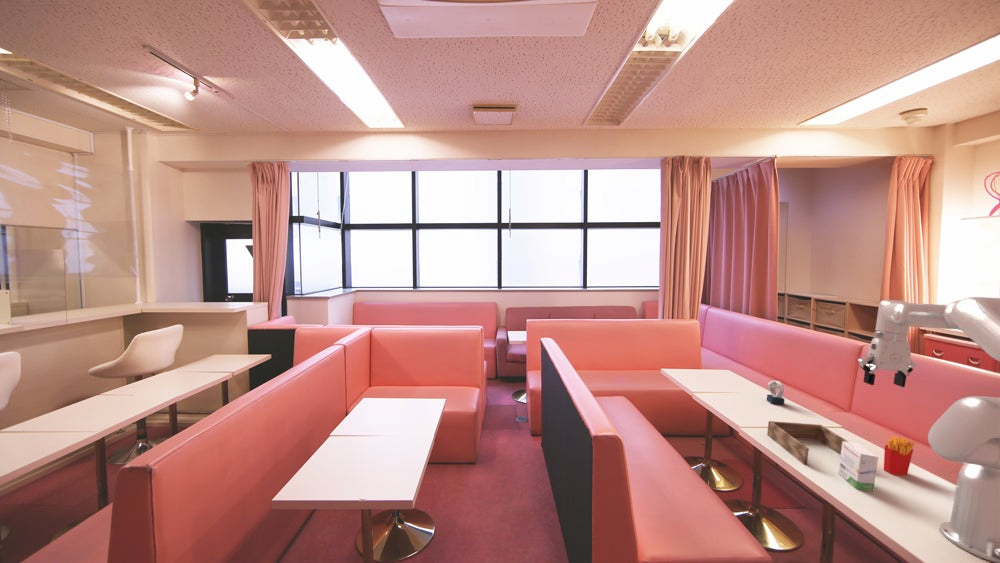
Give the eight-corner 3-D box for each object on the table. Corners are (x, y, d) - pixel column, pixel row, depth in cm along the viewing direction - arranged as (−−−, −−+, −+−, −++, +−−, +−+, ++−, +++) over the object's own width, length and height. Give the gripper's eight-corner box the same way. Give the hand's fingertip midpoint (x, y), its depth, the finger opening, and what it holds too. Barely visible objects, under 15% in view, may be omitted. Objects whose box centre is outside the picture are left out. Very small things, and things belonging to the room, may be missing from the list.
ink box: (874, 492, 113) (879, 457, 112) (856, 489, 114) (860, 454, 113) (854, 475, 122) (858, 442, 120) (837, 473, 123) (841, 440, 121)
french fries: (890, 475, 122) (895, 442, 121) (877, 468, 126) (882, 435, 125) (914, 475, 122) (919, 442, 121) (901, 468, 126) (906, 436, 125)
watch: (776, 399, 183) (778, 379, 182) (786, 406, 175) (788, 385, 174) (764, 398, 184) (766, 378, 183) (773, 405, 176) (775, 383, 175)
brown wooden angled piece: (864, 469, 125) (867, 453, 125) (803, 464, 127) (805, 448, 126) (819, 438, 145) (821, 424, 144) (767, 435, 147) (768, 421, 146)
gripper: (873, 337, 119) (866, 387, 121) (930, 340, 118) (922, 390, 119) (853, 332, 127) (847, 379, 128) (907, 335, 125) (899, 382, 127)
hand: (883, 384), depth 124 cm, fingers open, 9 cm apart
